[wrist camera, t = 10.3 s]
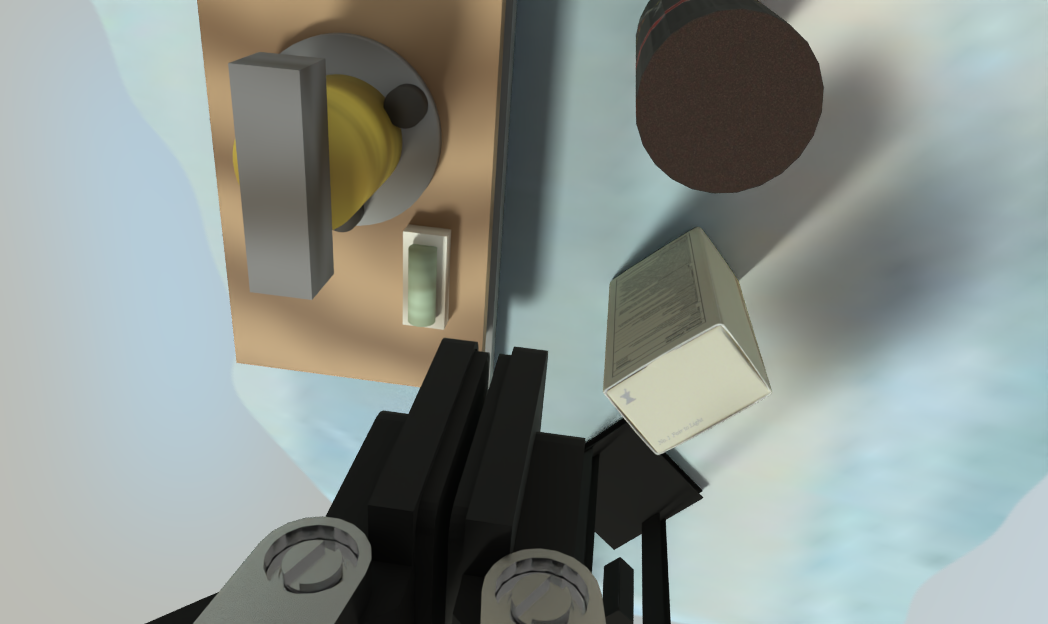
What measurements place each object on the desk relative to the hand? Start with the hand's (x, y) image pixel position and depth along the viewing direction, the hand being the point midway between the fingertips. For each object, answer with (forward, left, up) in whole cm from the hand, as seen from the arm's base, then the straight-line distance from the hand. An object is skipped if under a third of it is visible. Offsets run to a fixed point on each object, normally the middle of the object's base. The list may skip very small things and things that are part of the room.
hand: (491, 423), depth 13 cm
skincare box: (+11, +6, -31) cm, 34 cm away
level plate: (+6, -11, -27) cm, 30 cm away
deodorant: (-2, +5, -31) cm, 32 cm away
